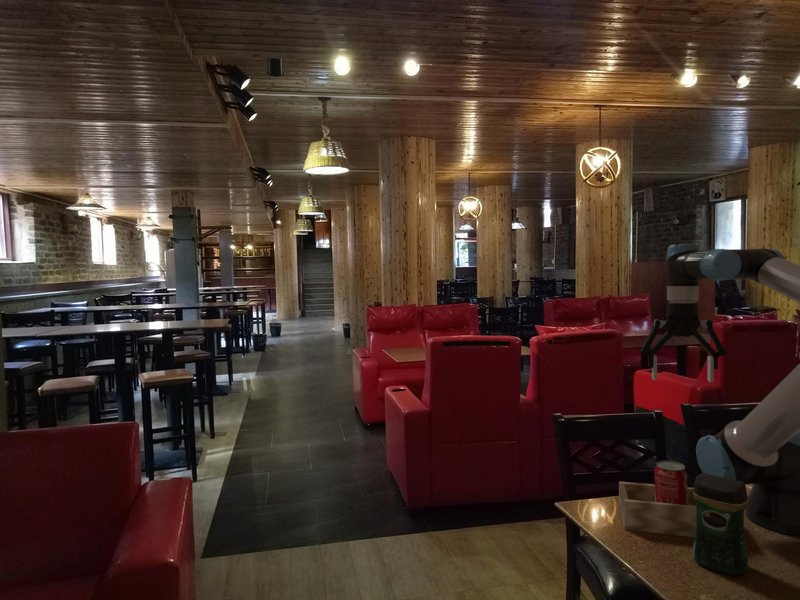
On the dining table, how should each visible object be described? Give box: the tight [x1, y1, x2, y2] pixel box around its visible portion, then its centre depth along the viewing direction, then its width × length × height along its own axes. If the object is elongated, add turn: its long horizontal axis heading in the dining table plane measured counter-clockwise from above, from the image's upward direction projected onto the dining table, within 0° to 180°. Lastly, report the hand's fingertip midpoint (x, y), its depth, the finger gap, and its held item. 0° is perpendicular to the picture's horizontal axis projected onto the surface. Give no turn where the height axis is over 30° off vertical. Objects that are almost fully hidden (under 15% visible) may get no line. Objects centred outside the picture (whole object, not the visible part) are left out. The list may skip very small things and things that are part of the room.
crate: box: [618, 481, 697, 538], centre depth 129 cm, size 22×12×7 cm, turn 73°
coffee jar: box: [692, 472, 749, 576], centre depth 111 cm, size 10×8×19 cm
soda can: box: [654, 460, 688, 505], centre depth 129 cm, size 7×7×13 cm
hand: (682, 380), depth 143 cm, fingers open, 13 cm apart
